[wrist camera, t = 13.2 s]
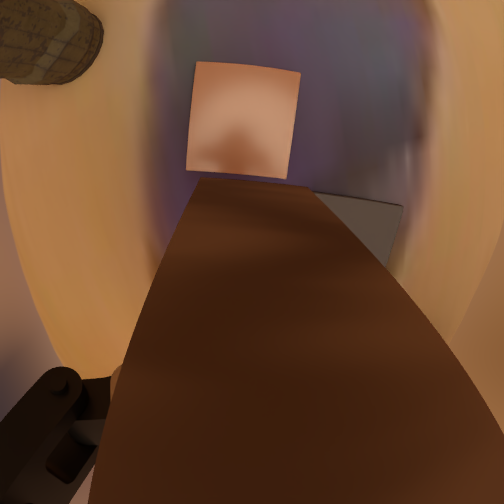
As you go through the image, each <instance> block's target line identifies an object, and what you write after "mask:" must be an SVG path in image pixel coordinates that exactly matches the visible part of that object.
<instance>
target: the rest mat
mask: <svg viewBox="0 0 504 504" xmlns="http://www.w3.org/2000/svg"><path fill="white" fill-rule="evenodd" d="M312 192H313V191H312ZM313 193H314V194H315V195H316V196H317V197H318V198H319V199H320V200H321V201H322V202H323V203H324V204H325V205H326V206H327V207H328V208H329V209H330V210H331V211H332V212H333V213H334V214H335V215H336V216H337V217H338V218H339V219H340V220H341V221H342V222H343V223H344V224H345V225H346V226H347V227H348V228H349V229H350V230H351V231H352V232H353V233H354V234H355V235H356V236H357V237H358V238H359V240H360V241H361V242H362V243H363V244H364V245H365V246H366V247H367V248H368V249H369V250H370V251H371V252H372V254H373V255H374V256H375V257H376V258H377V259H378V260H379V261H380V262H381V264H382V265H383V266H384V267H386V264H387V261H388V258H389V255H390V252H391V249H392V246H393V243H394V239H395V236H396V233H397V230H398V226H399V223H400V219H401V216H402V212H403V208H404V207H403V206H401V205H396V204H391V203H385V202H380V201H374V200H368V199H361V198H355V197H349V196H342V195H335V194H328V193H320V192H313Z"/></svg>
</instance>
